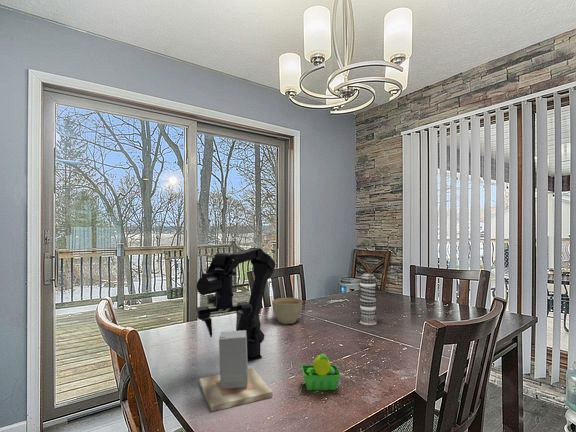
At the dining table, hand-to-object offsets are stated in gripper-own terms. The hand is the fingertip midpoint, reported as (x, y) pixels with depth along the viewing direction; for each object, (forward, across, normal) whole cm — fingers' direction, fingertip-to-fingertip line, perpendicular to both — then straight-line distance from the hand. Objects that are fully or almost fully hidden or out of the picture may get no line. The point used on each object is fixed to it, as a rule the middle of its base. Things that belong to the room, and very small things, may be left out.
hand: (224, 334), depth 114 cm
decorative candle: (+14, -82, -24) cm, 87 cm away
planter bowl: (+14, -46, -44) cm, 65 cm away
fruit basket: (+13, -24, +23) cm, 36 cm away
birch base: (+13, 0, +13) cm, 18 cm away
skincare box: (+12, 0, +13) cm, 17 cm away
